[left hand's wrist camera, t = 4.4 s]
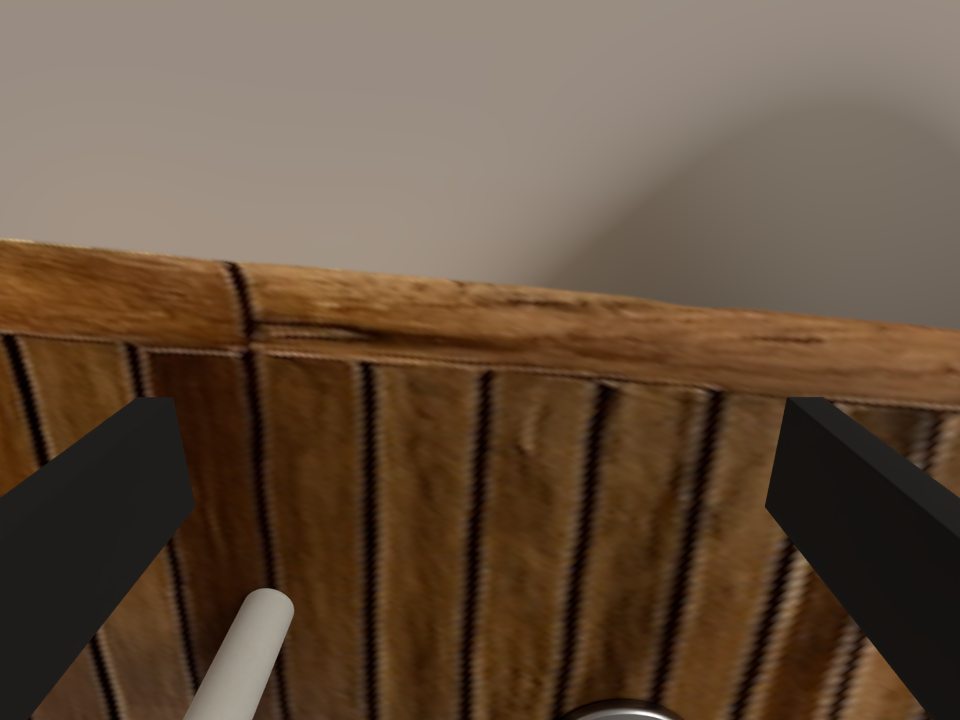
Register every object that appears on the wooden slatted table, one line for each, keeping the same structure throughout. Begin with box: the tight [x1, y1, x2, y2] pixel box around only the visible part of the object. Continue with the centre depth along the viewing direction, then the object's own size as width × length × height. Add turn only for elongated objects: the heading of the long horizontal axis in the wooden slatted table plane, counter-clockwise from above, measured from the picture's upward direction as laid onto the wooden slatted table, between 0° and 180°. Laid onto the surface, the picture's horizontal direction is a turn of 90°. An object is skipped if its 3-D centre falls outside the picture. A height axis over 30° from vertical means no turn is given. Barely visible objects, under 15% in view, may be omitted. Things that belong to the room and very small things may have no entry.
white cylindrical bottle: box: [183, 588, 294, 720], centre depth 42 cm, size 4×4×17 cm
